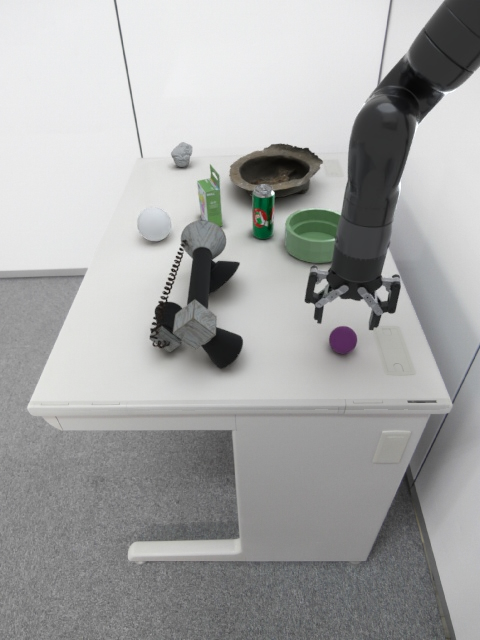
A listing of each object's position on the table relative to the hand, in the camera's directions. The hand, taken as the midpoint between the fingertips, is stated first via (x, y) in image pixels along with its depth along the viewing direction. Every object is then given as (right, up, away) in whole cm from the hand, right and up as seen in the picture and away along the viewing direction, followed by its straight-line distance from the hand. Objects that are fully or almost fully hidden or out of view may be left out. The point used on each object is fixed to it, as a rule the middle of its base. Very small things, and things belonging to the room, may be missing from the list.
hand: (344, 323), depth 74 cm
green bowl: (0, +18, +28) cm, 33 cm away
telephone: (-25, +1, +12) cm, 28 cm away
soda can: (-12, +21, +32) cm, 40 cm away
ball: (-38, +20, +32) cm, 54 cm away
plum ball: (0, -3, +2) cm, 4 cm away
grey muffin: (-35, +48, +62) cm, 87 cm away
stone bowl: (-8, +37, +49) cm, 62 cm away
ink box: (-25, +25, +37) cm, 52 cm away
